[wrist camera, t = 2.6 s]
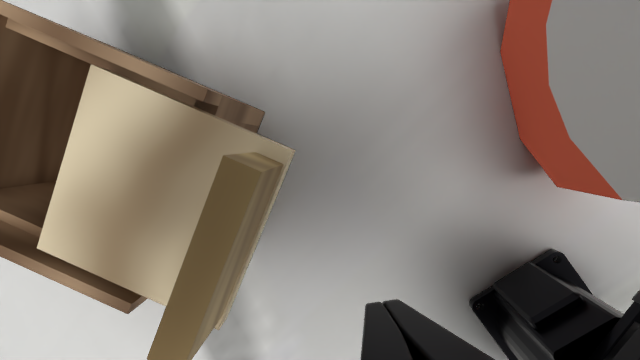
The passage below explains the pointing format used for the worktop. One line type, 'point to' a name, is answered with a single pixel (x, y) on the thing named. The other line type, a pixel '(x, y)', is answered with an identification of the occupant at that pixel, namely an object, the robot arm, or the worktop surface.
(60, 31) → the walnut box
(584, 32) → the french fries container
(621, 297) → the worktop surface
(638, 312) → the robot arm
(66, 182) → the lid
